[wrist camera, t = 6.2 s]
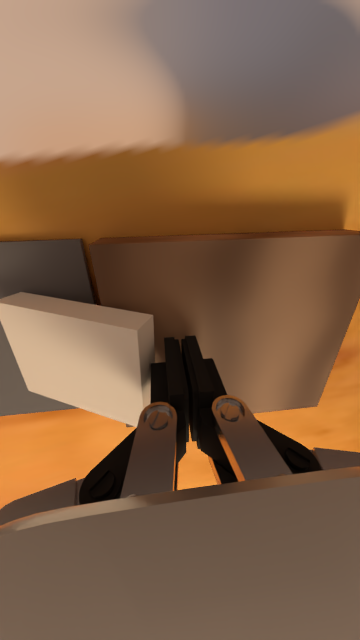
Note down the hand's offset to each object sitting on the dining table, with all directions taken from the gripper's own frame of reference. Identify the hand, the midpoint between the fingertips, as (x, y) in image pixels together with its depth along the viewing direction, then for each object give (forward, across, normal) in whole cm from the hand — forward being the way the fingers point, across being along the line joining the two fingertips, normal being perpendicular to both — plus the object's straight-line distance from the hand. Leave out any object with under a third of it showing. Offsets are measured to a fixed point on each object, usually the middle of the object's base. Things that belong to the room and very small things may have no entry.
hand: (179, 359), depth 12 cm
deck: (+3, -3, 0) cm, 5 cm away
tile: (+1, +5, 0) cm, 5 cm away
